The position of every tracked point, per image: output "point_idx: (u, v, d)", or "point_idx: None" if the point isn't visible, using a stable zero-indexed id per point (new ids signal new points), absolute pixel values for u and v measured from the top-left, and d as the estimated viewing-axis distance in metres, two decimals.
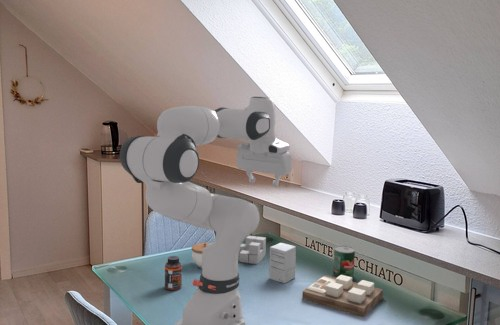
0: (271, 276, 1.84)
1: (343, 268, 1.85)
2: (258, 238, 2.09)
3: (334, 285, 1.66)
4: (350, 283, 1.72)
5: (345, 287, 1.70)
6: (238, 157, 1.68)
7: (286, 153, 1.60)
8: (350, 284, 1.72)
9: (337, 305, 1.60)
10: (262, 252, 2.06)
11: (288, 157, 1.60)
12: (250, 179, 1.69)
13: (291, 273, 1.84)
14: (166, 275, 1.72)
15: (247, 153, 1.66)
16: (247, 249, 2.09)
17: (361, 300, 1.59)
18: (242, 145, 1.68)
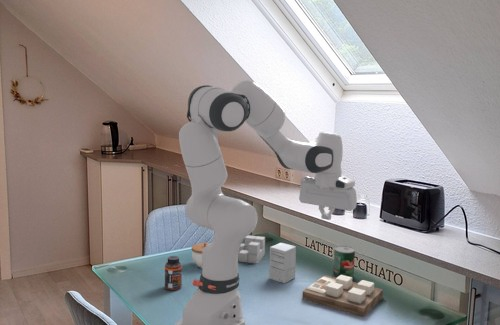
0: (271, 276, 1.84)
1: (343, 268, 1.85)
2: (257, 238, 2.09)
3: (334, 285, 1.66)
4: (350, 283, 1.72)
5: (345, 287, 1.70)
6: (301, 191, 1.71)
7: (352, 189, 1.63)
8: (350, 284, 1.72)
9: (337, 305, 1.60)
10: (261, 252, 2.07)
11: (354, 193, 1.63)
12: (323, 215, 1.68)
13: (291, 273, 1.84)
14: (166, 275, 1.72)
15: (311, 187, 1.69)
16: (246, 249, 2.10)
17: (361, 300, 1.59)
18: (306, 179, 1.71)
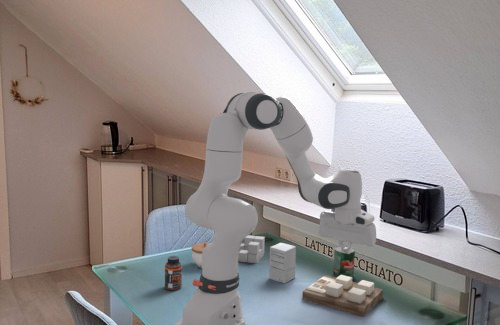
0: (271, 276, 1.84)
1: (343, 268, 1.85)
2: (257, 237, 2.09)
3: (334, 285, 1.66)
4: (350, 283, 1.72)
5: (345, 287, 1.70)
6: (321, 225, 1.73)
7: (372, 224, 1.65)
8: (350, 284, 1.72)
9: (337, 305, 1.60)
10: (261, 251, 2.07)
11: (374, 228, 1.65)
12: (343, 249, 1.71)
13: (291, 273, 1.84)
14: (166, 275, 1.72)
15: (331, 222, 1.71)
16: (246, 248, 2.10)
17: (361, 300, 1.59)
18: (325, 213, 1.73)
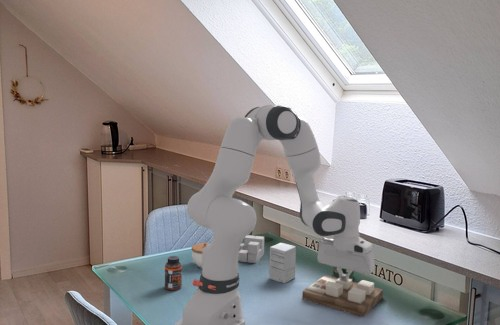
0: (271, 276, 1.84)
1: None
2: (257, 237, 2.09)
3: (334, 285, 1.66)
4: (350, 286, 1.72)
5: None
6: (319, 252, 1.75)
7: (370, 253, 1.66)
8: None
9: (337, 305, 1.60)
10: (261, 251, 2.07)
11: (372, 257, 1.66)
12: (341, 276, 1.72)
13: (291, 273, 1.84)
14: (166, 275, 1.72)
15: (329, 249, 1.72)
16: (246, 248, 2.10)
17: (361, 300, 1.59)
18: (324, 240, 1.75)
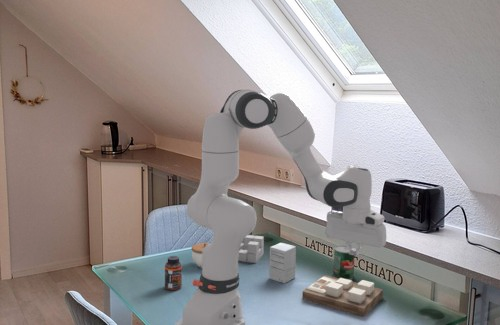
0: (271, 276, 1.84)
1: (343, 268, 1.85)
2: (256, 237, 2.10)
3: (334, 285, 1.66)
4: None
5: None
6: (328, 225, 1.65)
7: (382, 225, 1.57)
8: None
9: (337, 305, 1.60)
10: (260, 251, 2.08)
11: (384, 229, 1.57)
12: (350, 251, 1.63)
13: (291, 273, 1.84)
14: (166, 275, 1.72)
15: (339, 222, 1.63)
16: (245, 248, 2.10)
17: (361, 300, 1.59)
18: (333, 213, 1.65)
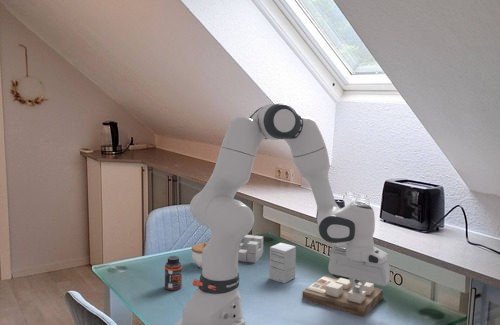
0: (271, 276, 1.84)
1: None
2: (256, 237, 2.10)
3: (334, 285, 1.66)
4: None
5: None
6: (331, 261, 1.64)
7: (385, 263, 1.55)
8: None
9: (337, 305, 1.60)
10: (260, 251, 2.08)
11: (388, 267, 1.55)
12: (354, 288, 1.61)
13: (291, 273, 1.84)
14: (166, 275, 1.72)
15: (342, 259, 1.61)
16: (245, 248, 2.11)
17: (361, 301, 1.59)
18: (335, 249, 1.64)
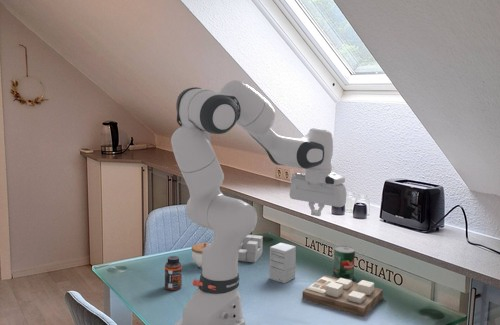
0: (271, 276, 1.84)
1: (343, 268, 1.85)
2: (255, 237, 2.10)
3: (334, 285, 1.66)
4: None
5: None
6: (292, 187, 1.71)
7: (342, 185, 1.63)
8: None
9: (337, 305, 1.60)
10: (259, 250, 2.08)
11: (344, 189, 1.62)
12: (312, 212, 1.68)
13: (291, 273, 1.84)
14: (166, 275, 1.72)
15: (301, 183, 1.69)
16: (244, 248, 2.11)
17: None
18: (296, 175, 1.71)
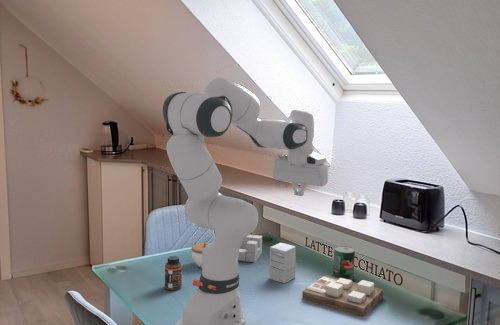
0: (271, 276, 1.84)
1: (343, 268, 1.85)
2: (255, 236, 2.11)
3: (334, 285, 1.66)
4: None
5: None
6: (275, 168, 1.75)
7: (323, 165, 1.67)
8: None
9: (337, 305, 1.60)
10: (259, 250, 2.08)
11: (325, 169, 1.67)
12: (295, 192, 1.72)
13: (291, 273, 1.84)
14: (166, 275, 1.72)
15: (284, 164, 1.72)
16: (244, 248, 2.11)
17: None
18: (279, 157, 1.75)
